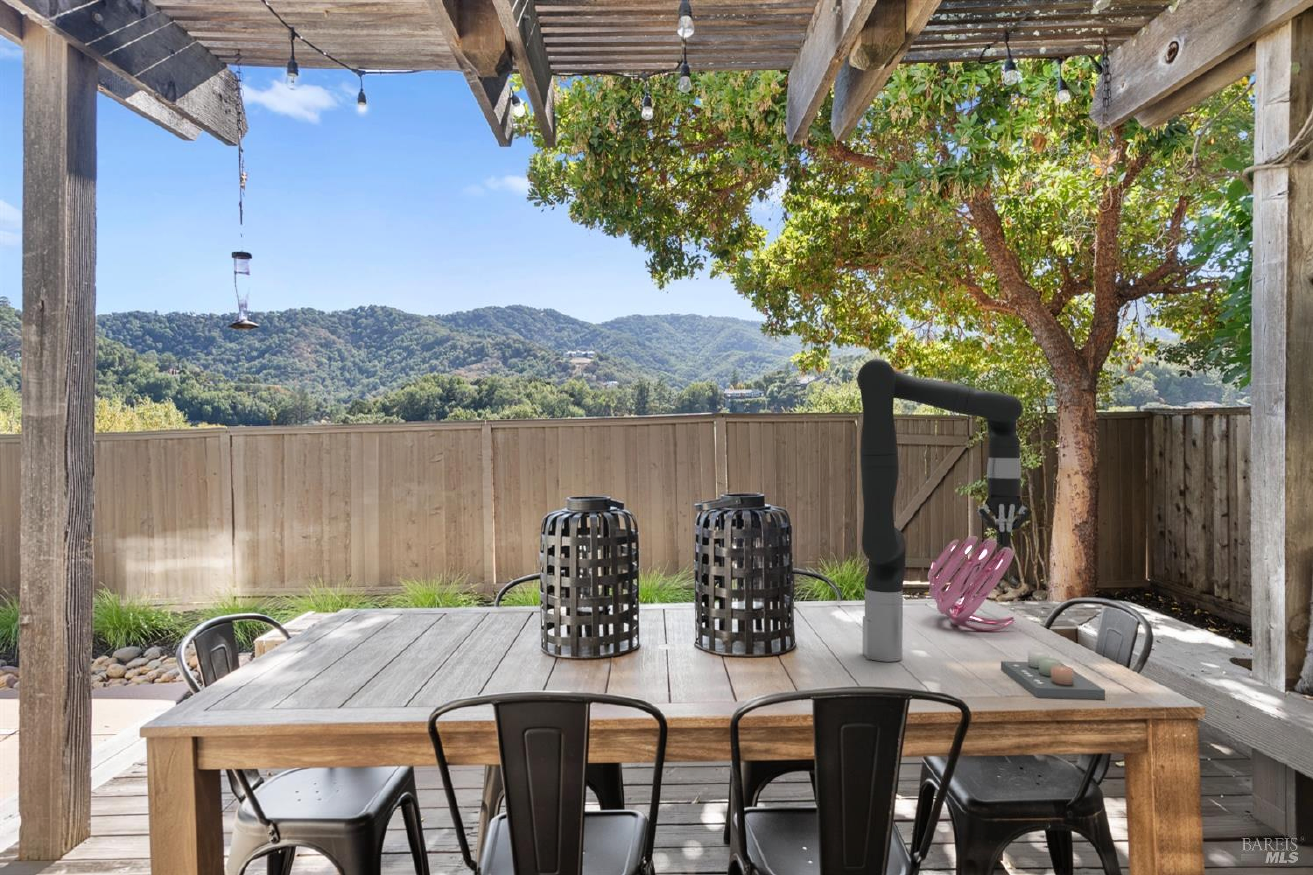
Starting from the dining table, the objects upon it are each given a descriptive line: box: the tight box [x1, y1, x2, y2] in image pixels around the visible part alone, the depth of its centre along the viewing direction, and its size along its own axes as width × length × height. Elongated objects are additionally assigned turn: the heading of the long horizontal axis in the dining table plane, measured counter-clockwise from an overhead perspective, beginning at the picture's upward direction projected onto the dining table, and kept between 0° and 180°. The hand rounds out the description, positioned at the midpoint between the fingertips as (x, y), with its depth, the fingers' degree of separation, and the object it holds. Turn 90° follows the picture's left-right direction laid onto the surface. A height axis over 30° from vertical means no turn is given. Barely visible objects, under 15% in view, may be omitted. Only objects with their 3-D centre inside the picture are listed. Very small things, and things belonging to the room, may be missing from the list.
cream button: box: [1027, 649, 1050, 668], centre depth 177 cm, size 4×4×3 cm
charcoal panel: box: [1000, 660, 1106, 701], centre depth 171 cm, size 14×20×2 cm
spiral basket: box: [927, 535, 1016, 632], centre depth 225 cm, size 28×28×27 cm
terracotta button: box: [1051, 665, 1075, 685], centre depth 165 cm, size 4×4×3 cm
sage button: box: [1039, 657, 1062, 676], centre depth 171 cm, size 4×4×3 cm
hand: (1003, 546), depth 185 cm, fingers closed
